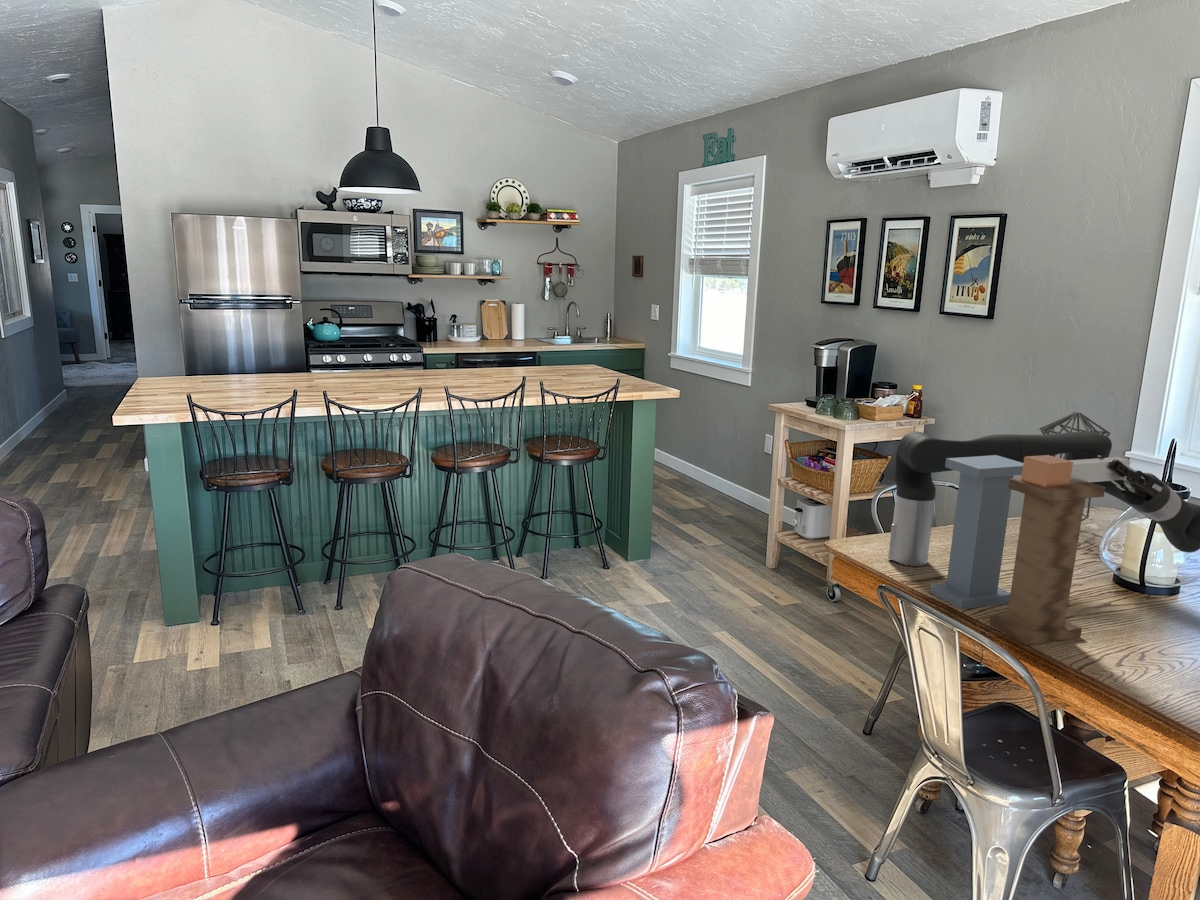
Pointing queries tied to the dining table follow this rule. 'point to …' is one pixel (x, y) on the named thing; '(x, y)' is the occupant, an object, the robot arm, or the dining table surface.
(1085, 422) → the geometric lantern
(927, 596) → the dining table surface
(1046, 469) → the bar
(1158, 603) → the dining table surface
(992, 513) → the post
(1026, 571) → the walnut post
